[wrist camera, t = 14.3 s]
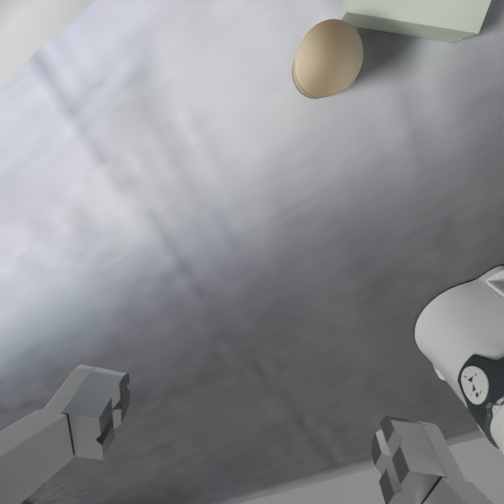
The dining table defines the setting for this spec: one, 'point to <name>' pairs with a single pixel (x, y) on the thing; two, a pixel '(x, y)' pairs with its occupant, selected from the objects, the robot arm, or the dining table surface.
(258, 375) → the dining table surface
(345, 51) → the round beech peg
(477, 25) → the slot block
